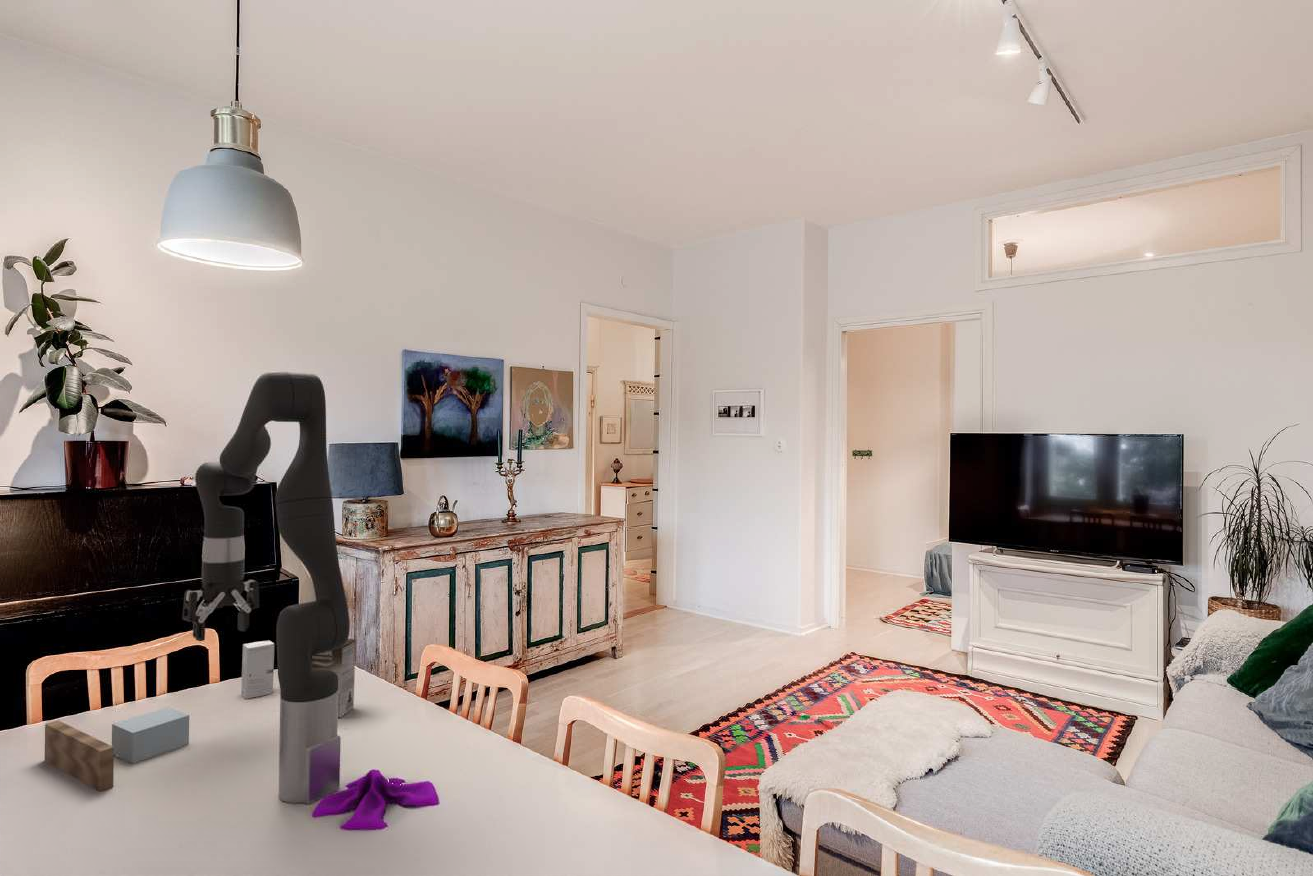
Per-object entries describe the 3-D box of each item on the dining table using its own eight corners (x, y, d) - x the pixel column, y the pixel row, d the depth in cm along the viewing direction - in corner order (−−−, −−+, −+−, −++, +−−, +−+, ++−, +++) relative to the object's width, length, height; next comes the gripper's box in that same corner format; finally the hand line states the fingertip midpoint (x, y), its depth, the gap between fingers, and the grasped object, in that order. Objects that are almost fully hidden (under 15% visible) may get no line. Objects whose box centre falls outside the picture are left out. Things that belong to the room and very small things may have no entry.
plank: (113, 786, 124) (113, 747, 124) (99, 791, 123) (100, 751, 123) (57, 756, 135) (58, 720, 135) (44, 760, 134) (45, 723, 134)
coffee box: (301, 716, 156) (302, 644, 156) (317, 705, 163) (318, 636, 163) (340, 719, 155) (341, 646, 155) (355, 708, 162) (356, 638, 162)
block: (188, 744, 142) (189, 715, 142) (132, 764, 133) (132, 733, 133) (167, 736, 146) (168, 707, 146) (111, 754, 137) (112, 723, 137)
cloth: (459, 794, 125) (459, 760, 125) (373, 848, 109) (374, 808, 109) (371, 765, 135) (372, 733, 135) (281, 810, 119) (282, 774, 119)
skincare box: (245, 699, 165) (246, 648, 165) (240, 694, 169) (241, 644, 169) (274, 693, 170) (275, 643, 170) (268, 688, 173) (269, 639, 173)
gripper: (197, 565, 138) (195, 647, 138) (267, 555, 151) (265, 630, 151) (176, 560, 142) (174, 640, 142) (247, 550, 154) (245, 624, 154)
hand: (221, 635), depth 146 cm, fingers open, 8 cm apart
